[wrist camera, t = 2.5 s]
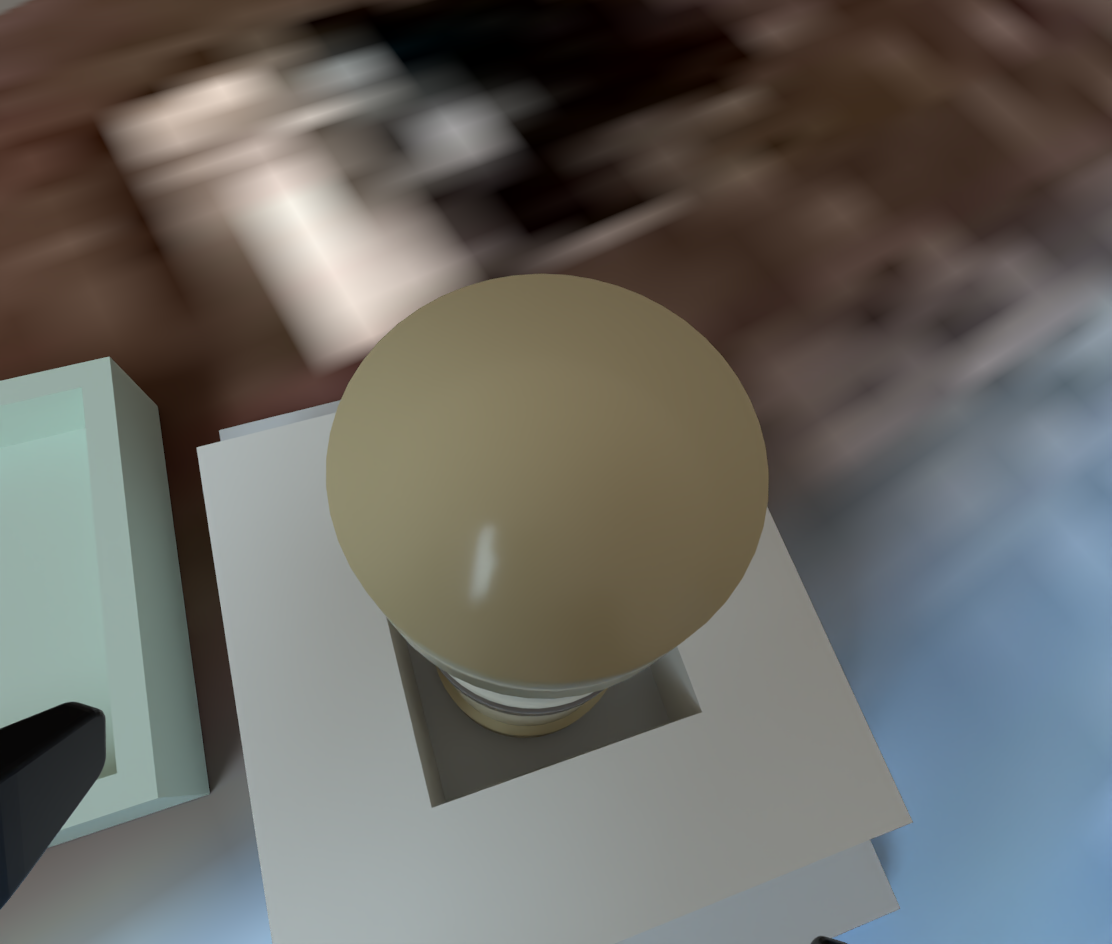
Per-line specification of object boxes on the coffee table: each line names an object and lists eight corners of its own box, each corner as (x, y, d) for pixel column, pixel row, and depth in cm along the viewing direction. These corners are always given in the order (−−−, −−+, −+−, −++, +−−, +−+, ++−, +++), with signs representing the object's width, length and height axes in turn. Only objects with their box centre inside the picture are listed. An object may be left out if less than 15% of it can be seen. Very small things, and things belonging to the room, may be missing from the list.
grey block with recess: (880, 901, 19) (987, 938, 15) (349, 1128, 16) (294, 1250, 12) (639, 341, 25) (665, 256, 21) (230, 444, 23) (167, 371, 18)
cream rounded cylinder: (636, 704, 19) (844, 596, 7) (465, 763, 18) (382, 751, 6) (579, 542, 21) (672, 238, 9) (419, 589, 20) (287, 325, 8)
